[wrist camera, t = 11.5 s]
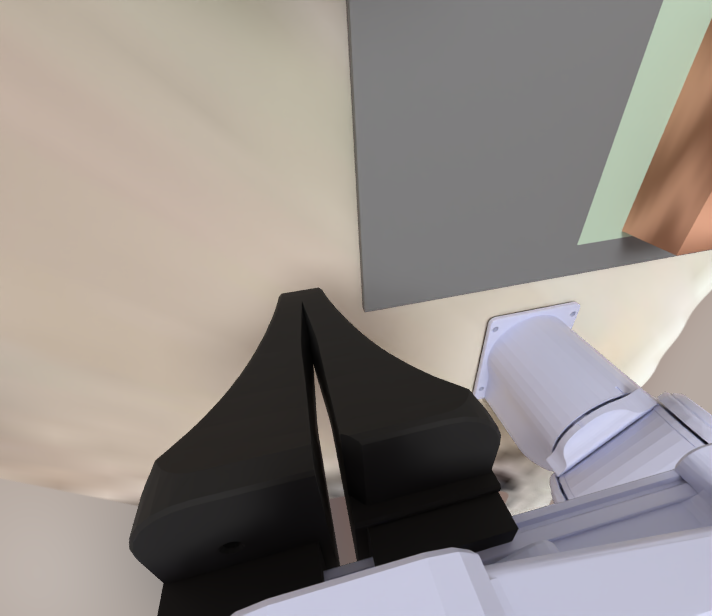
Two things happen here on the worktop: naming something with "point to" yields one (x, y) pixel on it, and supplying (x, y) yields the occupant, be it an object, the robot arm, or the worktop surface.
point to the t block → (681, 170)
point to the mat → (507, 136)
